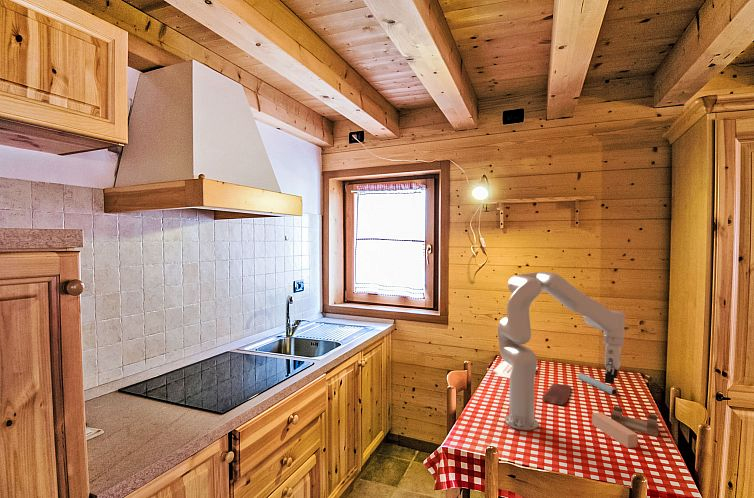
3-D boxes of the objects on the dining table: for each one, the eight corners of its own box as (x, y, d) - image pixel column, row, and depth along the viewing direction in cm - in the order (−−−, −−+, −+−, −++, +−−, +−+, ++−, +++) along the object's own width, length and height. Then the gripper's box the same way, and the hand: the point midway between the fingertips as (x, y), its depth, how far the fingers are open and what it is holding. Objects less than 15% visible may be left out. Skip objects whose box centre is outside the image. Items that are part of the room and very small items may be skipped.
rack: (657, 436, 151) (658, 425, 150) (609, 424, 160) (609, 413, 160) (658, 426, 159) (658, 415, 158) (612, 415, 168) (612, 405, 168)
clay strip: (627, 448, 143) (627, 435, 142) (591, 425, 160) (592, 413, 160) (637, 447, 143) (637, 434, 143) (600, 424, 161) (600, 412, 161)
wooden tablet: (564, 407, 177) (564, 403, 177) (541, 401, 182) (541, 398, 182) (573, 388, 199) (573, 384, 199) (552, 383, 204) (552, 380, 204)
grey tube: (617, 395, 191) (617, 388, 191) (605, 396, 189) (606, 389, 189) (583, 379, 213) (583, 372, 213) (572, 379, 212) (572, 373, 211)
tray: (489, 376, 218) (489, 369, 218) (503, 362, 242) (503, 356, 242) (528, 383, 207) (528, 376, 207) (538, 368, 231) (538, 362, 230)
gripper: (620, 345, 157) (618, 388, 157) (626, 338, 171) (623, 377, 171) (599, 342, 162) (597, 383, 162) (606, 335, 175) (604, 373, 176)
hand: (610, 380), depth 167 cm, fingers open, 9 cm apart
